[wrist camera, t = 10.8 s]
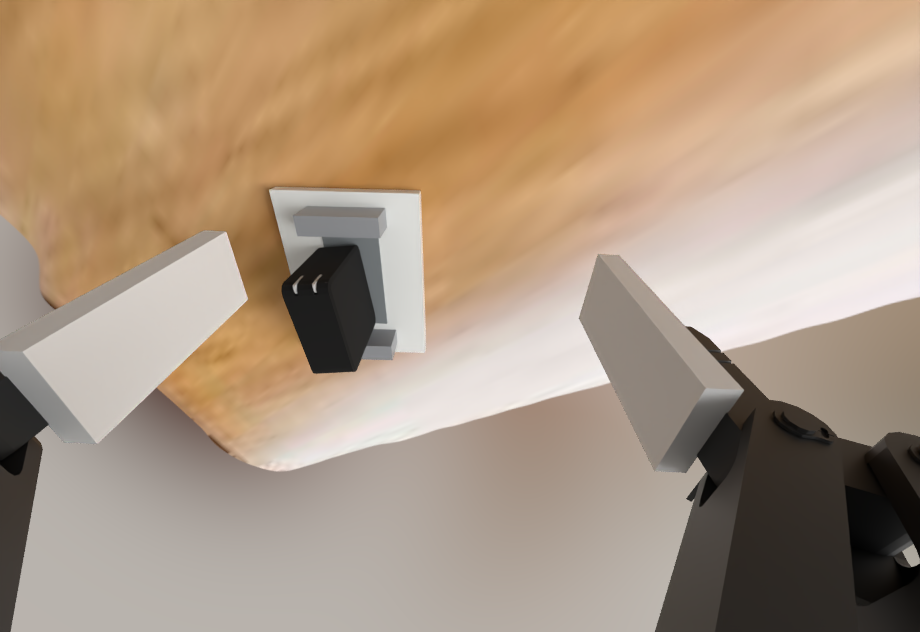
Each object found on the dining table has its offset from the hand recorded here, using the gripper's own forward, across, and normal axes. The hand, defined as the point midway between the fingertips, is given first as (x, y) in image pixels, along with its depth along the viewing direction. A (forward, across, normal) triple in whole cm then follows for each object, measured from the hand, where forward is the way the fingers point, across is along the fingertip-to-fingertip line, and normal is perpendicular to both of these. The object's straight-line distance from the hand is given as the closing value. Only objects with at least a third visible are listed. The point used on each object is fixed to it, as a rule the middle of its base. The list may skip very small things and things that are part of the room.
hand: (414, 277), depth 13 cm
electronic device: (+24, -10, -14) cm, 29 cm away
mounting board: (+25, -10, -13) cm, 30 cm away
